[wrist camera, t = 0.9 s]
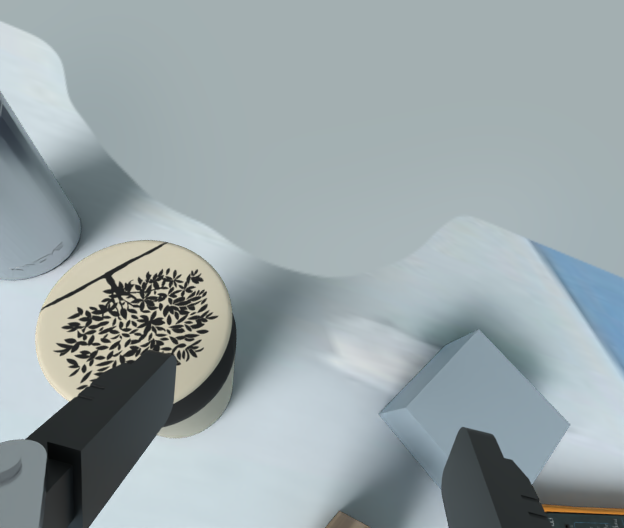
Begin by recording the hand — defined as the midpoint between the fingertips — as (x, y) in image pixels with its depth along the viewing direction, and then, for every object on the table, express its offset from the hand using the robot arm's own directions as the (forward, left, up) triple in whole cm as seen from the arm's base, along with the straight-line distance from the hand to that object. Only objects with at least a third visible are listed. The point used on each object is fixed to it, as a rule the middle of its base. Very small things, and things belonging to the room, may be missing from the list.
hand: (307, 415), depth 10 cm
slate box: (+11, +14, -23) cm, 29 cm away
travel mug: (-7, -2, -23) cm, 24 cm away
